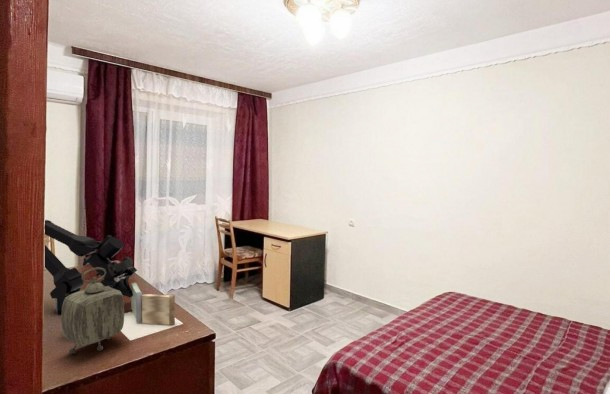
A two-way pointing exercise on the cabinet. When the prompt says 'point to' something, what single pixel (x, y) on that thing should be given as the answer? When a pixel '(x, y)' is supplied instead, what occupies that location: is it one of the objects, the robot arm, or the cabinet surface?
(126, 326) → the card
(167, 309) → the brown flat square block
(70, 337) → the tabletop clock
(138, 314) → the folding fence panel
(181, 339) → the cabinet surface
